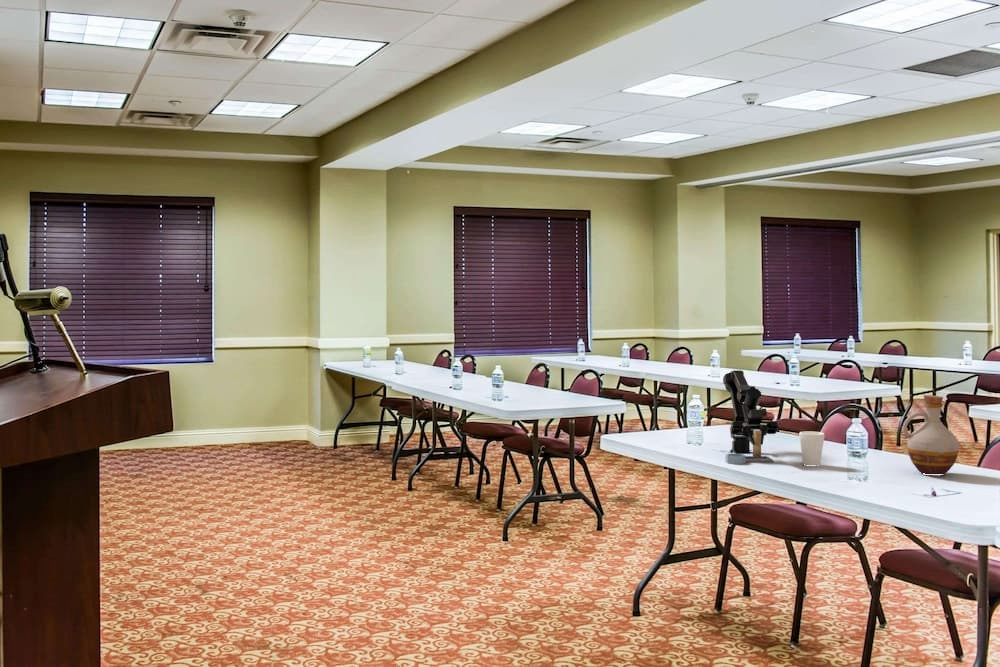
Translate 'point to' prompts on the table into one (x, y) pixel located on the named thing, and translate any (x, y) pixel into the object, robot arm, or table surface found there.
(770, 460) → the tray
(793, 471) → the table surface
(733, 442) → the robot arm
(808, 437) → the foam cup
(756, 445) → the dowel
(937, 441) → the jug
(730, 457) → the gray square block
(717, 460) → the table surface
